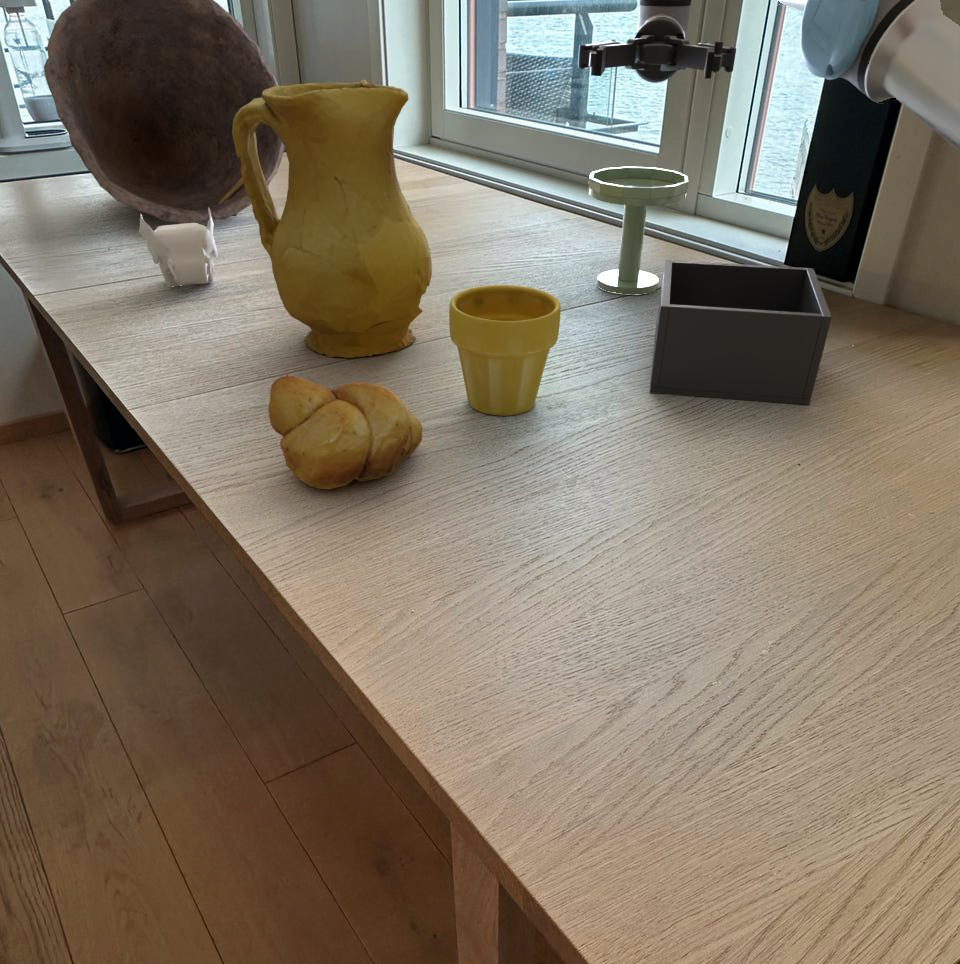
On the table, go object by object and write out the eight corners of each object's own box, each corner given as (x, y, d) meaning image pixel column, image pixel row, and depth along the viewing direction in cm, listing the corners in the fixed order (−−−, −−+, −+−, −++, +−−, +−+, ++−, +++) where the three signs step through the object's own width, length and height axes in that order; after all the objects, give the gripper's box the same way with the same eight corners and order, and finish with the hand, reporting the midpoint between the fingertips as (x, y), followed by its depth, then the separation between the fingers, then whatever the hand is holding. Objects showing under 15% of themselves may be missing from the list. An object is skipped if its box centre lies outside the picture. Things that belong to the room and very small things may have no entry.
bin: (794, 348, 96) (813, 268, 91) (809, 405, 84) (832, 316, 79) (654, 338, 99) (665, 259, 93) (649, 392, 87) (661, 306, 81)
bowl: (107, 6, 148) (119, -92, 122) (280, 151, 164) (325, 92, 138) (4, 172, 146) (-5, 108, 119) (190, 302, 162) (218, 272, 136)
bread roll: (406, 432, 80) (401, 346, 74) (448, 477, 73) (446, 387, 68) (270, 459, 75) (255, 370, 70) (300, 510, 68) (286, 416, 63)
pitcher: (352, 376, 88) (322, 90, 74) (247, 342, 99) (202, 84, 84) (466, 338, 99) (459, 79, 84) (360, 310, 109) (337, 76, 94)
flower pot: (576, 408, 84) (584, 306, 78) (489, 434, 79) (490, 328, 73) (514, 374, 90) (517, 277, 84) (430, 396, 86) (427, 296, 80)
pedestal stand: (673, 275, 117) (687, 168, 109) (673, 303, 108) (689, 189, 100) (585, 270, 119) (593, 165, 111) (578, 297, 110) (586, 185, 102)
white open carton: (159, 302, 108) (142, 226, 102) (148, 276, 116) (131, 204, 111) (235, 293, 111) (222, 219, 105) (219, 268, 119) (206, 198, 114)
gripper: (743, 82, 123) (750, 102, 107) (569, 78, 127) (552, 97, 110) (753, 17, 118) (763, 28, 102) (573, 15, 122) (555, 25, 106)
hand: (653, 64), depth 106 cm, fingers open, 13 cm apart
